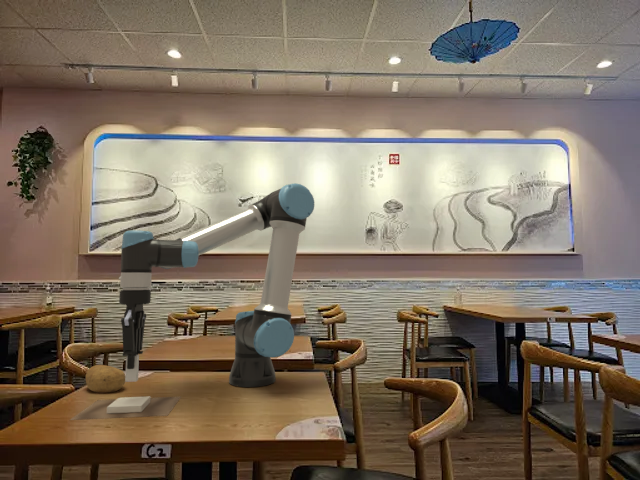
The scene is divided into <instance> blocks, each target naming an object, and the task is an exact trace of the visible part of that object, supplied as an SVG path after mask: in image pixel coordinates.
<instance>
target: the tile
mask: <svg viewBox="0 0 640 480" xmlns="http://www.w3.org/2000/svg"><path fill="white" fill-rule="evenodd" d="M150 398H152V397H151V396H150V395H148V396H131V397H130V396H129V397H128V396H125V397H123V396H122V397H118V398H115V399H116V400H115V401H114V402H113V403H111V404H110V405H109V406H108V407H107V413H129V412H142V411H143V409H144V408H145V407H146V406H147V405H148V404H149V403H150Z"/></svg>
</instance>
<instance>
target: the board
mask: <svg viewBox="0 0 640 480" xmlns="http://www.w3.org/2000/svg"><path fill="white" fill-rule="evenodd" d="M181 398H182V396H165V397H164V396H163V397H151V398H150V403H149V404H148V405H147V406H146V407H145V408H144V409H143V411H142V412H129V413H107V407H108V406H109V405H110V404H111V403H113V402H114V401H115V400H116V399H117V398H112V399H110V398H109V399H108V398H107V399H97V400H95V401H94V402H92V403H91V404H90V405H88V406H87V407H86V408H84V409H83V410H82V411H79V412H78V413H77V414H76V415H74V416H73V417H71V418H70V419H69V421H79V420H80V421H81V420H83V421H84V420H100V419H102V420H103V419H105V420H107V419H121V418H122V419H126V418H144V417H145V418H146V417H147V418H148V417H167V416H169V415H170V413H171V412H172V410H173V409H174V407H175V406H176V405H177V403H178V402H179V401H180V399H181Z"/></svg>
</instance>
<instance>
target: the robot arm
mask: <svg viewBox="0 0 640 480" xmlns="http://www.w3.org/2000/svg"><path fill="white" fill-rule="evenodd" d="M314 209H315V198H314V195H313V194H312V193H311V191H310V190H309V189H308V188H307V187H306V186H305V185H303V184H301V183H290V184H286V185H283V186H282V187H281V188H278V189H277V190H276V189H275V190H274V191H272V192H270V193H269V194H267V195H266V196H264V197H263V198H262V199H259V200H258V201H255V202H254V203H252V204H250V205H248V207H247V209H244V210H242V211H240V212H238V213H235V214H232V215H230V216H228V217H226V218H223V219H220V220H219V221H216V222H214V223H212V224H210V225H207V226H204V227H202V228H199V229H198V230H195V231H193V232H190V233H187V234H186V235H183V236H180V237H179V238H177V239H173V240H172V239H157V238H154V234H153V232H151V231H148V230H140V229H139V230H138V229H137V230H136V229H134V230H133V229H132V230H131V229H130V230H126V231H124V233H123V235H122V241H121V253H120V255H121V256H120V276H119V277H118V280H119V281H120V283H119V287H120V288H121V289H122V290H120V291H119V297H118V298H119V301H118V303H119V304H120V305H123V306H124V305H126V307H125V311H124V315H123V317H121V319H120V323H121V326H122V328H121V331H122V334H121V335H122V354H121V355H122V356H123V357H126V358H125V383H126V382H127V383H128V382H129V383H130V382H133V383H134V382H138V381H139V367H140V366H139V364H140V362H139V361H140V355H143V353H144V351H143V343H144V342H143V341H144V332H145V327H146V326H145V324H146V320H147V319H146V318H147V314H146V313H145V311H144V305H149V304H150V303H151V301H152V300H151V296H152V295H151V294H152V291H151V290H150V289H149V288H152V276H153V274H152V272H153V271H152V269H153V267H155V268H162V269H165V270H170V269H174V268H184V269H186V268H195V267H196V266H197V265H198V261H199V256H200V255H204V254H206V253H208V252H210V251H212V250H215V249H217V248H220V247H221V246H223V245H225V244H227V243H230V242H233V241H234V240H237V239H239V238H241V237H243V236H246V235H247V234H250V233H252V232H254V231H256V230H257V231H261V232H262V231H264V230H266V229H268V228H272V234H271V240H270V244H269V245H270V247H269V252H268V257H267V264H266V268H265V274H264V280H263V286H262V292H261V298H260V303H259V304H258V305H257V306H255V307H254V309H253V310H248V311H241V312H240V311H239V312H238V313H236V315H235V321H234V325H235V331H234V332H235V335H234V336H235V337H234V338H235V339H234V341H235V342H234V344H235V345H234V346H235V347H234V361H233V363H232V366H231V369H230V373H229V377H228V380H229V381H228V383H229V384H230V385H232V386H235V387H241V388H257V387H263V386H269V385H271V384H274V383H275V382H276V371H275V368H274V365H273V361H272V358H278V357H281V356H283V355H284V354H286V353H287V352H288V351H289V350H290V349H291V347H292V346H293V343H294V340H295V330H294V328H293V326H292V324H291V321H292V312H291V311H290V310H289V301H290V295H291V287H292V283H293V276H294V270H295V265H296V264H295V263H296V257H297V251H298V245H299V240H300V239H299V238H300V234H301V233H302V232H303V231H305V230H306V225H307V218H309V217H310V216H311V214H313V212H314Z"/></svg>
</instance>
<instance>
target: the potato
mask: <svg viewBox="0 0 640 480" xmlns="http://www.w3.org/2000/svg"><path fill="white" fill-rule="evenodd" d="M125 375H126V372H124V370H121V369H120V368H118V367H115V366H109V365H106V364H105V365H104V364H96V365H93V366H91V367H90V368H89V369H88V370H87V371H86V374H85V384H86V386H87V389H88V390H90V391H91V392H94V393H107V394H108V393H115V392H117V391H119V390H121V389H122V388H123V386H124V385H125V383H126V382H125Z"/></svg>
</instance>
